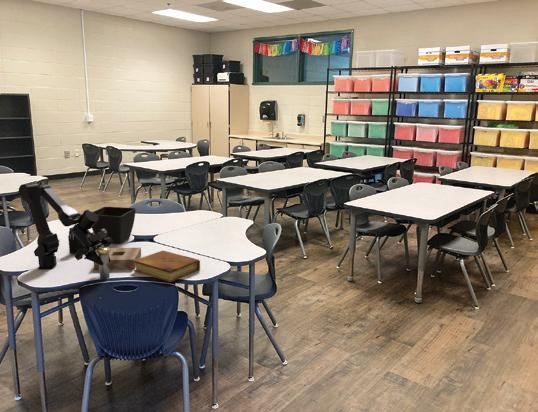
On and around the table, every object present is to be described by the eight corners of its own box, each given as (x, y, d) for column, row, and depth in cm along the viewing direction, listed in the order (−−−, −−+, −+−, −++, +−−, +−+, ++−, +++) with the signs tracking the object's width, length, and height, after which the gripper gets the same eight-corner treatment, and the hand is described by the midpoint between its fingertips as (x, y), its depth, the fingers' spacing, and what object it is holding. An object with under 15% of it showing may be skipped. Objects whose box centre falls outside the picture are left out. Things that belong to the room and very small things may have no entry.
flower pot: (122, 246, 243) (120, 215, 239) (89, 244, 246) (86, 213, 242) (137, 236, 261) (136, 208, 258) (106, 235, 264) (104, 206, 261)
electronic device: (89, 249, 238) (88, 230, 236) (76, 255, 229) (75, 235, 226) (82, 248, 239) (81, 229, 237) (69, 254, 230) (67, 235, 227)
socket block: (94, 269, 209) (93, 260, 208) (103, 256, 227) (103, 248, 226) (134, 268, 211) (134, 259, 210) (141, 256, 228) (140, 247, 228)
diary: (200, 271, 211) (200, 259, 210) (170, 283, 196) (170, 270, 195) (164, 260, 224) (164, 249, 222) (134, 271, 208) (133, 259, 207)
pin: (97, 279, 197) (95, 250, 195) (100, 275, 202) (98, 246, 200) (109, 279, 198) (107, 250, 195) (112, 274, 203) (110, 246, 200)
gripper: (78, 229, 188) (101, 258, 187) (108, 219, 205) (130, 246, 204) (64, 245, 192) (87, 274, 191) (95, 234, 209) (116, 260, 208)
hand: (106, 263), depth 198 cm, fingers closed on pin, 4 cm apart
